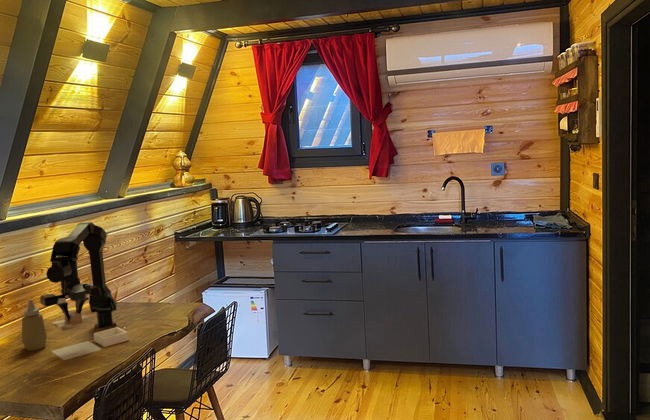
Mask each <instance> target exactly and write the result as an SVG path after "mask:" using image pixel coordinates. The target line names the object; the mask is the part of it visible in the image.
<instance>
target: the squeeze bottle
mask: <svg viewBox="0 0 650 420" xmlns="http://www.w3.org/2000/svg"><path fill="white" fill-rule="evenodd" d="M23 313H24V316H23V317H22V318H21V342H22V344H23V347H24V348H25V349H26V350H27V351H37V350H41V349H43V348H45V346H46V342H47V339H48V335H47V330H46V326H45V321H44V318H43V315H42V314H41V313H40V308H39V307H38V308H36V306H35V304H34V301H33V299H28V303H27V308H26V309H25V310H24V311H23Z"/></svg>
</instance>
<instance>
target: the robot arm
mask: <svg viewBox="0 0 650 420" xmlns="http://www.w3.org/2000/svg"><path fill="white" fill-rule="evenodd" d="M106 240H107V232H106V230H105V229H104V228H103V227H102V226H99V225H96V224H95V223H94V222H91V221H85V222H84V221H82V222H79V223H77V225H76V227H75V228H74V229H73V230H72V231H71V232H70V233H69V234H68V235H67V236H65V237H62V238H59V239H57V240H56V241H55V242H54V244H53V245H52V251H51V254H50V260H49V262H50V263H51V266H50V267H48V269H47V270H46V272H45V273H46V278H47V280H49V282H52V283H55V284H57V283H60V290H59V291H60V294H58V295H56V294H54V293H48V294H44V295H41V296H40V298H39V301H40V305H42V306H44V307H51V306H58V307H59V308H60V309H61V312H62V313H63V315H64V318H65V317H66V319H67V320H68V321H70V318H69V311H70V310H69V302H66V300H68V299H69V300H70V301H71V302H74V304H75V311H76V312H78V313H80V314H82V311H83V307H84V304H85V303H86V302H87V301H88V304H89V305H88V306H89V309H90V312H91V314H92V313H96V320H97V321H96V323H94V327H96V328H99V329H103V328H107V327H111V326H116V325H117V323H116V322H114V320H113V312H115V311H117V307H118V306H117V302H116V300H115V298H114V297H113V295H112V291H111V290H110V289H109V287H108V286H107V283H106V273H105V266H104V265H105V264H104V255H103V249H104V247H105V245H106V244H107V243H106V242H107V241H106ZM82 243H83V247H84V248H85V249H86V250H87V252H88V254H89V263H90V271H91V281H92V285H91V284H90V283H89V282H86V283H83V284H82V283H81V279H80V277H79V270H78V260H79V258H78V256H79V252H80V250H81V246H80V245H81V244H82Z"/></svg>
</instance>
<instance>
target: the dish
mask: <svg viewBox="0 0 650 420" xmlns="http://www.w3.org/2000/svg"><path fill="white" fill-rule="evenodd" d="M93 341H94V342H95V343H97V344H99V345H100V346H102V347H104V348H106V347H109V346H112V345H116V344H120V343H123V342H127V341H129V332H128V331H126V330H124V329H123V328H120V327H118V326H116V327H113V328H109V329H104V330H101V331H96V332H93Z"/></svg>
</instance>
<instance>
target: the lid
mask: <svg viewBox="0 0 650 420" xmlns="http://www.w3.org/2000/svg"><path fill="white" fill-rule="evenodd" d="M68 311H69V318H70V321H68V320H67V319H66V317H65V316H64V318H63V319H60V320H55V321H52V322H51V325H52V326H54V327H55V328H57V329H59V330H61V331H62V332H64V331H70V330H73V329H77V328H81V327H85V326H88V325H93V324H94V325H95V324H97V321H96V320H95V319H93V318H91V317H89V316H87V315H85V314H82V313H81V314H80V313H78V312H76V310H73V309H71V310H68Z"/></svg>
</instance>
